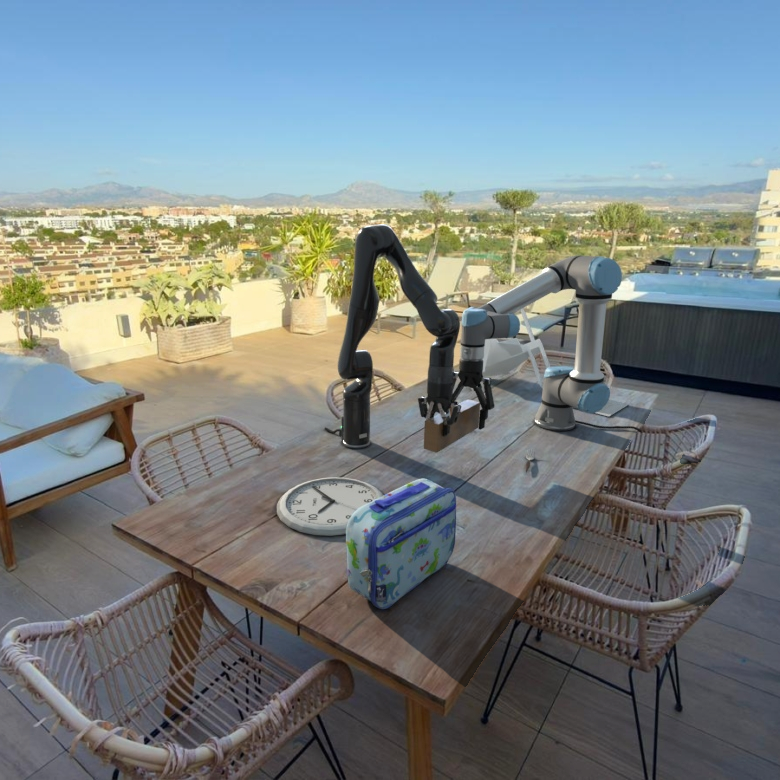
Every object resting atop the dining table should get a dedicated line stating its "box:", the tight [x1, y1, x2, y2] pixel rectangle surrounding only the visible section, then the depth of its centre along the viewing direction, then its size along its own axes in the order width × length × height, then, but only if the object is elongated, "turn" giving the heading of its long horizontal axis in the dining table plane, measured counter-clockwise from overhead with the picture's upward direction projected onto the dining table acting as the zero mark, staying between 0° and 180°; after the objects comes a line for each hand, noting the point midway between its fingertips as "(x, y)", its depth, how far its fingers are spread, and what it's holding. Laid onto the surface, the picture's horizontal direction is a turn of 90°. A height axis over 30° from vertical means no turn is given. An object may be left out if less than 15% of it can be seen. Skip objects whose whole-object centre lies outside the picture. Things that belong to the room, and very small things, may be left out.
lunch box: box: [345, 477, 457, 610], centre depth 110 cm, size 26×11×21 cm, turn 134°
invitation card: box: [595, 399, 629, 418], centre depth 226 cm, size 21×1×15 cm
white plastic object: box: [482, 308, 551, 390], centre depth 257 cm, size 37×45×31 cm
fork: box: [525, 448, 536, 473], centre depth 169 cm, size 3×16×2 cm, turn 160°
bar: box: [423, 399, 481, 454], centre depth 164 cm, size 26×5×9 cm, turn 143°
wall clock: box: [276, 476, 385, 537], centre depth 142 cm, size 30×2×30 cm
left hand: (437, 433), depth 157 cm, fingers closed on bar, 4 cm apart
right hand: (467, 424), depth 172 cm, fingers open, 10 cm apart
